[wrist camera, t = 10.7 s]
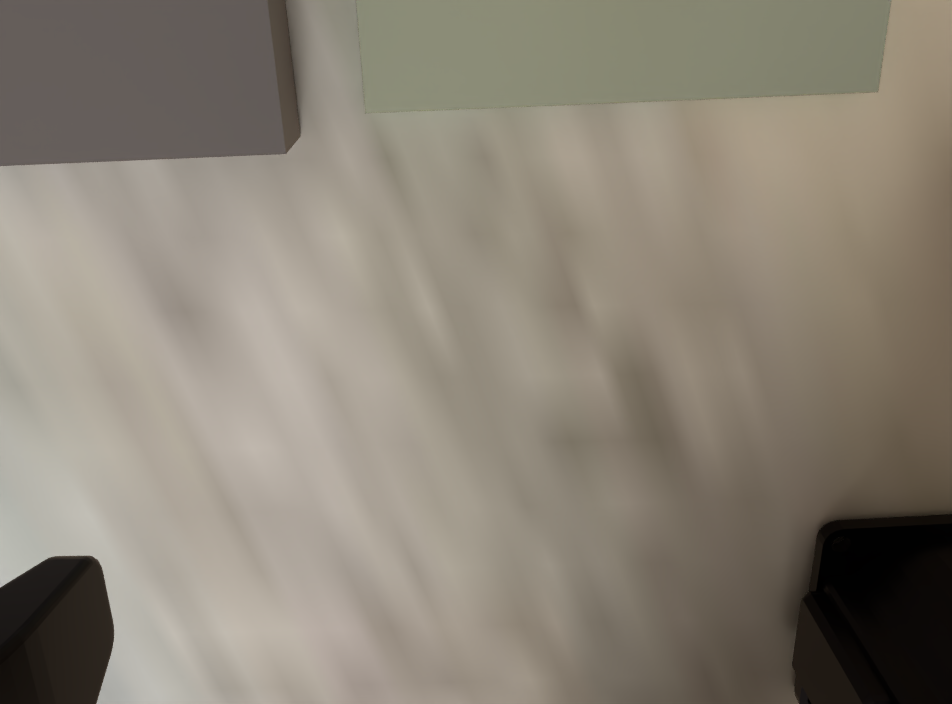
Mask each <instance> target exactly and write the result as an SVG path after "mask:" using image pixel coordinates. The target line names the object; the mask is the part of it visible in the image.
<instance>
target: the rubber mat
mask: <svg viewBox="0 0 952 704" xmlns="http://www.w3.org/2000/svg"><path fill="white" fill-rule="evenodd" d="M890 6H891V0H356V8H357V20H358V32H359V44H360V56H361V67H362V79H363V91H364V103H365V113H386V112H411V111H435V110H459V109H483V108H507V107H531V106H556V105H580V104H604V103H628V102H652V101H676V100H701V99H725V98H749V97H773V96H797V95H821V94H845V93H870V92H878V88H879V81H880V74H881V68H882V61H883V54H884V47H885V40H886V33H887V26H888V19H889V13H890Z"/></svg>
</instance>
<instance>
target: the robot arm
mask: <svg viewBox="0 0 952 704" xmlns="http://www.w3.org/2000/svg"><path fill="white" fill-rule="evenodd" d="M839 537H843V539H842V540H841V541H840V542H838V543H834V544H833V541H834V540H836V539H837V538H839ZM113 642H114V625H113V619H112V614H111V609H110V604H109V600H108V595H107V590H106V585H105V580H104V575H103V570H102V567H101V565H100V563H99V561H98V560H97V559H95V558H94V557H92V556H55V557H51V558H48V559H46V560H45V561H43V562H41V563H40V564H38V565H36V566H35V567H33V568H31V569H30V570H28V571H27V572H25V573H23V574H22V575H20V576H18V577H17V578H15V579H14V580H12V581H10V582H9V583H7V584H5V585H4V586H2V587H1V588H0V704H96V703H97V700H98V696H99V693H100V690H101V686H102V683H103V679H104V676H105V673H106V669H107V666H108V662H109V659H110V656H111V652H112V648H113ZM792 666H793V669H794V671H795V673H796V682H795V689H794V692H795V696H796V698H797V700H798V702H799V704H952V514H951V515H931V516H912V517H893V518H874V519H855V520H837V521H832V522H829V523H828V524H826V525H824V526H823V527H822V528H821V529H820V530H819V533H818V535H817V540H816V546H815V553H814V560H813V567H812V574H811V580H810V587H809V592H806V594H805V595H804V597H803V598H802V600H801V605H800V612H799V619H798V626H797V633H796V640H795V647H794V654H793V661H792Z"/></svg>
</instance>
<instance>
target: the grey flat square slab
mask: <svg viewBox="0 0 952 704" xmlns="http://www.w3.org/2000/svg"><path fill="white" fill-rule="evenodd" d="M299 137H300V127H299V118H298V109H297V101H296V92H295V83H294V74H293V65H292V57H291V48H290V39H289V30H288V22H287V13H286V4H285V0H0V166H11V165H34V164H58V163H81V162H105V161H129V160H152V159H176V158H200V157H223V156H247V155H270V154H286V153H287V152H288V151H289V150H290V148H291V147H292V146H293V145H294V143H295V142H296V141H297V140H298V139H299Z"/></svg>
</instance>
